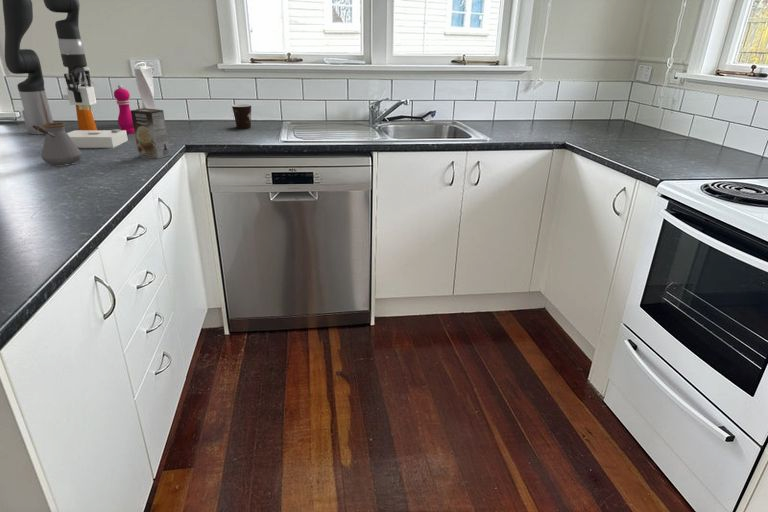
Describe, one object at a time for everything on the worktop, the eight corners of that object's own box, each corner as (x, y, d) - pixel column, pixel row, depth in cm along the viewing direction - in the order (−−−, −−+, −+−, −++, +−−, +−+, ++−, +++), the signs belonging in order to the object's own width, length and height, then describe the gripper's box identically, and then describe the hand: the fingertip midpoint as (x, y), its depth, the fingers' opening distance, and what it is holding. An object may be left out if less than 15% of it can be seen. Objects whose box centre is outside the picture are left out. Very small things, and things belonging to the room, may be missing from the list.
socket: (58, 147, 187) (55, 134, 185) (76, 140, 200) (74, 128, 198) (113, 147, 188) (110, 134, 186) (128, 140, 201) (125, 128, 199)
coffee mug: (245, 125, 237) (242, 103, 233) (257, 127, 232) (255, 105, 228) (225, 128, 228) (222, 106, 224) (237, 130, 224) (234, 108, 220)
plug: (63, 110, 183) (57, 87, 180) (70, 107, 188) (65, 85, 185) (91, 110, 184) (86, 88, 181) (97, 108, 189) (93, 86, 186)
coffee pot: (51, 160, 170) (39, 115, 163) (88, 158, 172) (77, 114, 166) (24, 176, 151) (10, 126, 144) (66, 174, 153) (54, 125, 147)
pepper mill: (133, 134, 213) (124, 85, 205) (116, 134, 213) (106, 85, 205) (141, 131, 219) (132, 83, 211) (125, 131, 219) (115, 83, 211)
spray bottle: (108, 132, 217) (94, 68, 206) (80, 134, 211) (64, 68, 200) (105, 129, 222) (92, 67, 211) (78, 131, 217) (63, 67, 206)
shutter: (84, 137, 191) (84, 135, 191) (89, 135, 194) (89, 134, 194) (96, 137, 191) (96, 135, 191) (101, 135, 195) (100, 134, 194)
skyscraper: (145, 124, 237) (134, 62, 226) (163, 124, 238) (152, 62, 226) (139, 127, 229) (127, 63, 218) (157, 127, 230) (146, 63, 219)
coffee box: (137, 156, 176) (128, 110, 169) (151, 153, 181) (142, 107, 175) (158, 159, 173) (150, 111, 166) (171, 155, 179) (163, 109, 172)
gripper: (71, 51, 184) (82, 98, 191) (50, 53, 171) (62, 103, 178) (92, 52, 185) (102, 99, 192) (73, 54, 172) (84, 104, 179)
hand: (83, 101), depth 185 cm, fingers closed on plug, 5 cm apart
